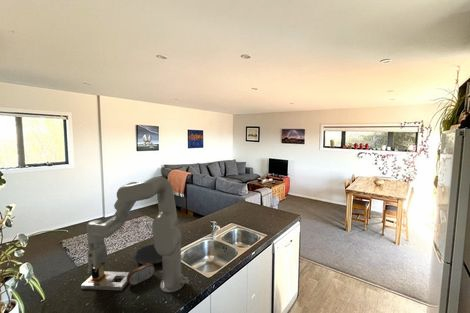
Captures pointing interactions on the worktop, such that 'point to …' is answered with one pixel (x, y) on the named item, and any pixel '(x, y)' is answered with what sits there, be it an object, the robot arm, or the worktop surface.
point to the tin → (140, 274)
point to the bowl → (148, 255)
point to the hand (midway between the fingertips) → (98, 274)
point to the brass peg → (99, 273)
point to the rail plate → (107, 281)
